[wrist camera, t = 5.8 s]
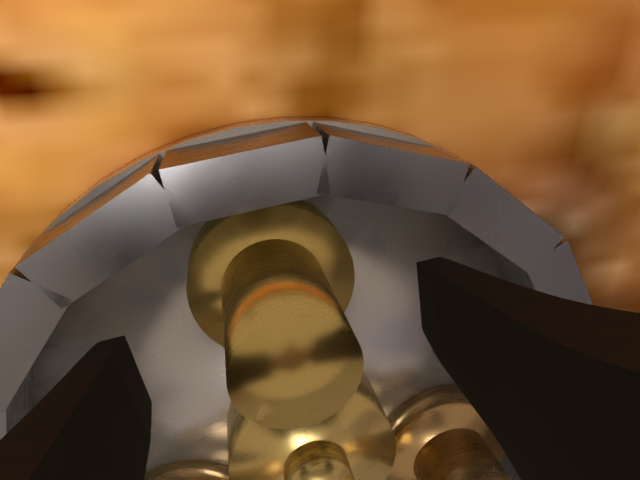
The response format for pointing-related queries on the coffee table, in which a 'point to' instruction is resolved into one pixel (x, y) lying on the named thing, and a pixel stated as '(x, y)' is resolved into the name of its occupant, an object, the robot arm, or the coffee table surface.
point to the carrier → (362, 313)
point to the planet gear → (278, 311)
